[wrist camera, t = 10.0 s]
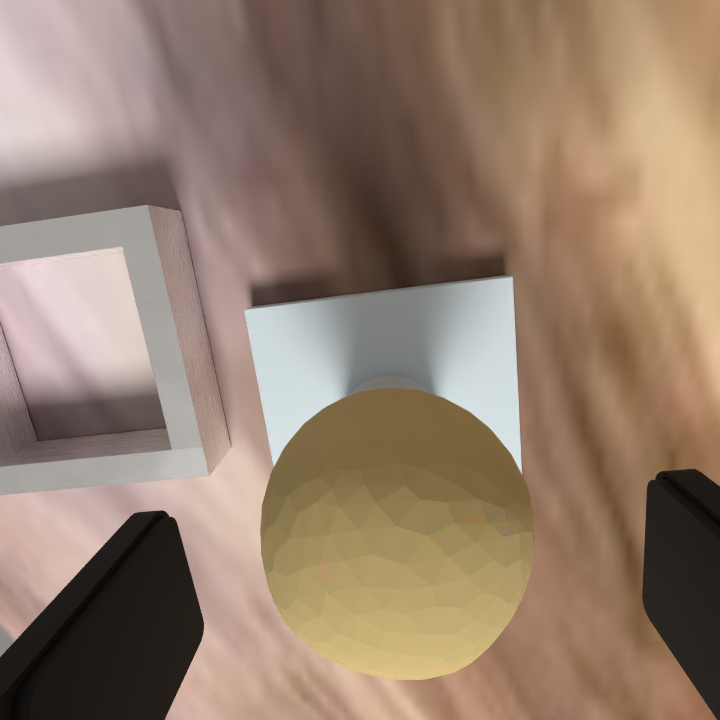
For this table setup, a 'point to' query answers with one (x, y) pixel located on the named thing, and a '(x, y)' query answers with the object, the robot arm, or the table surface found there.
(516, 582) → the light bulb
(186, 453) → the frame
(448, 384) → the pad
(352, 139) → the table surface
